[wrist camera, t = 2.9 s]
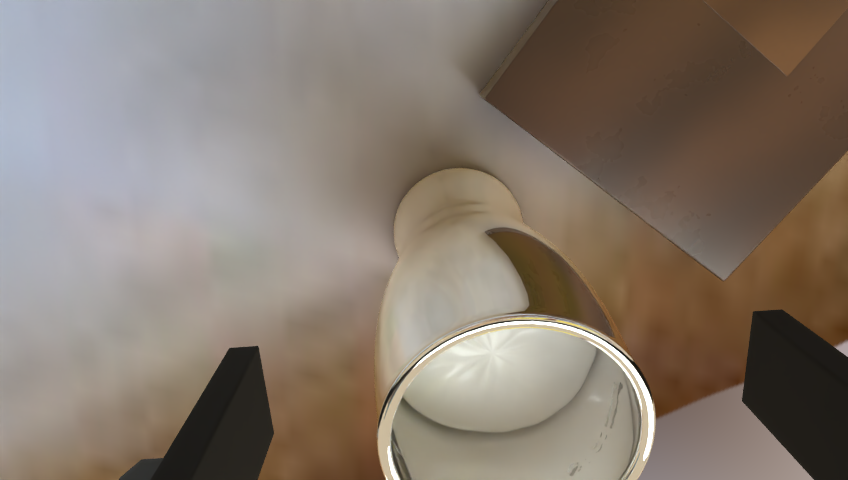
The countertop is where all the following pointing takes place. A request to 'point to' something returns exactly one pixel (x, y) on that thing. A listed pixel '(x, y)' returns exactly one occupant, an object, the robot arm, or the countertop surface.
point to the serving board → (688, 108)
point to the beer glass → (498, 350)
